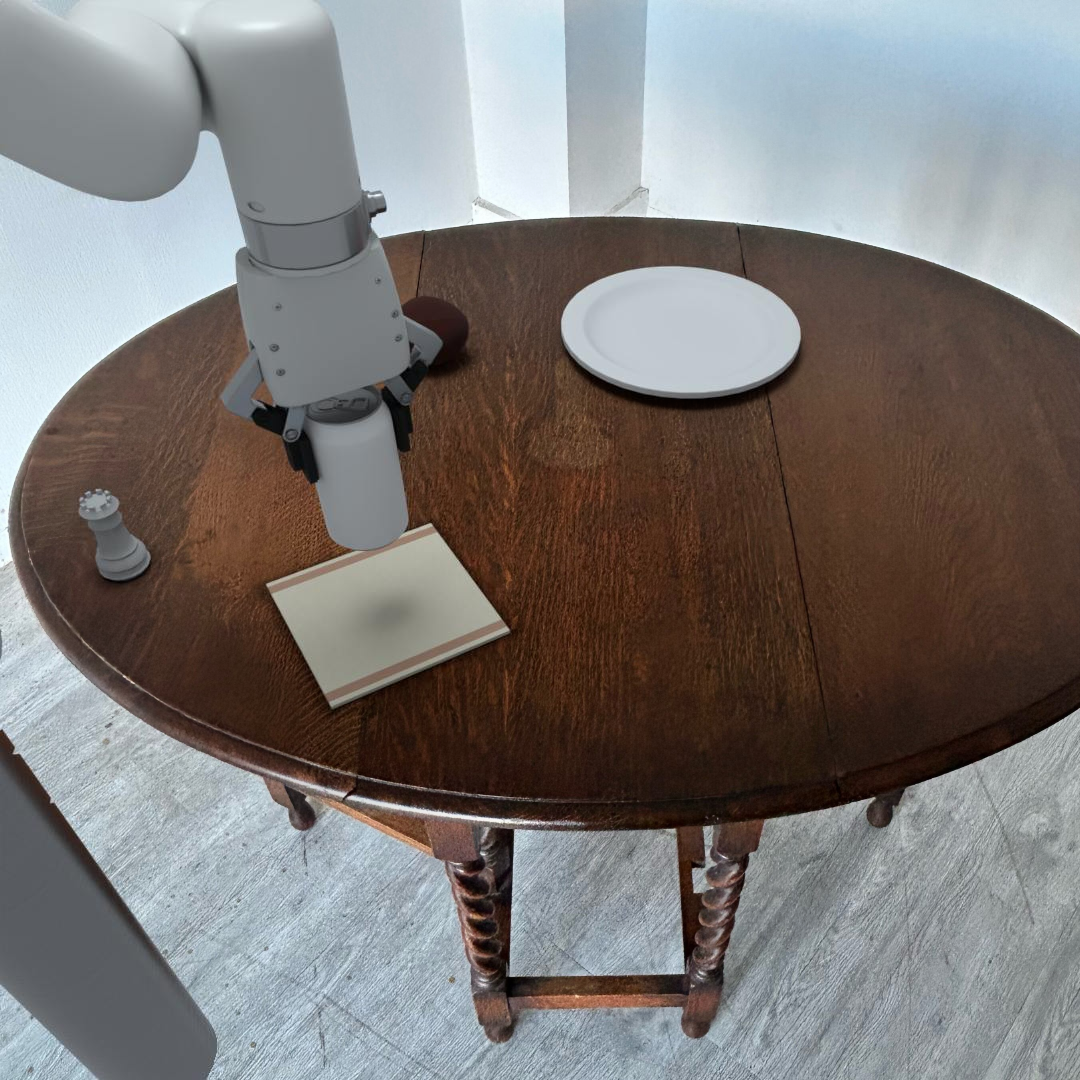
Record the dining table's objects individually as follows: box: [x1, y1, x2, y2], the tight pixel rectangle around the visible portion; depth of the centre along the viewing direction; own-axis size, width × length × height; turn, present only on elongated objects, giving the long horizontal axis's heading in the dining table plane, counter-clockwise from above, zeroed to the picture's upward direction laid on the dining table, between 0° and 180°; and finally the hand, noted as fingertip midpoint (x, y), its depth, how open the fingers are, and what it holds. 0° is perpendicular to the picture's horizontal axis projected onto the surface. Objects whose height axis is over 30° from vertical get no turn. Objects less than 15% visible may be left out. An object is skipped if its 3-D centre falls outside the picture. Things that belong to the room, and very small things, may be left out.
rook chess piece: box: [77, 488, 152, 582], centre depth 86 cm, size 4×4×8 cm
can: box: [302, 384, 409, 551], centre depth 75 cm, size 6×6×12 cm
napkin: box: [265, 522, 511, 710], centre depth 86 cm, size 16×16×1 cm
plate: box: [560, 265, 802, 399], centre depth 116 cm, size 28×28×2 cm
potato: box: [401, 295, 470, 366], centre depth 111 cm, size 8×9×8 cm
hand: (354, 455), depth 74 cm, fingers closed on can, 6 cm apart
